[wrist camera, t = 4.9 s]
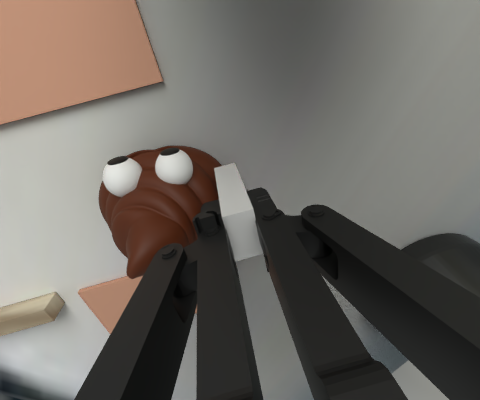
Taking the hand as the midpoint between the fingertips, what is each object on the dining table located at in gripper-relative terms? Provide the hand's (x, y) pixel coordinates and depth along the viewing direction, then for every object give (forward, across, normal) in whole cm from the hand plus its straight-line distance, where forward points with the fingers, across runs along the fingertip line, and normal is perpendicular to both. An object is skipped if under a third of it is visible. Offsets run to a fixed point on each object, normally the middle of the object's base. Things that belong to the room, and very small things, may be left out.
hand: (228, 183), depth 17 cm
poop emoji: (+3, +5, +1) cm, 6 cm away
